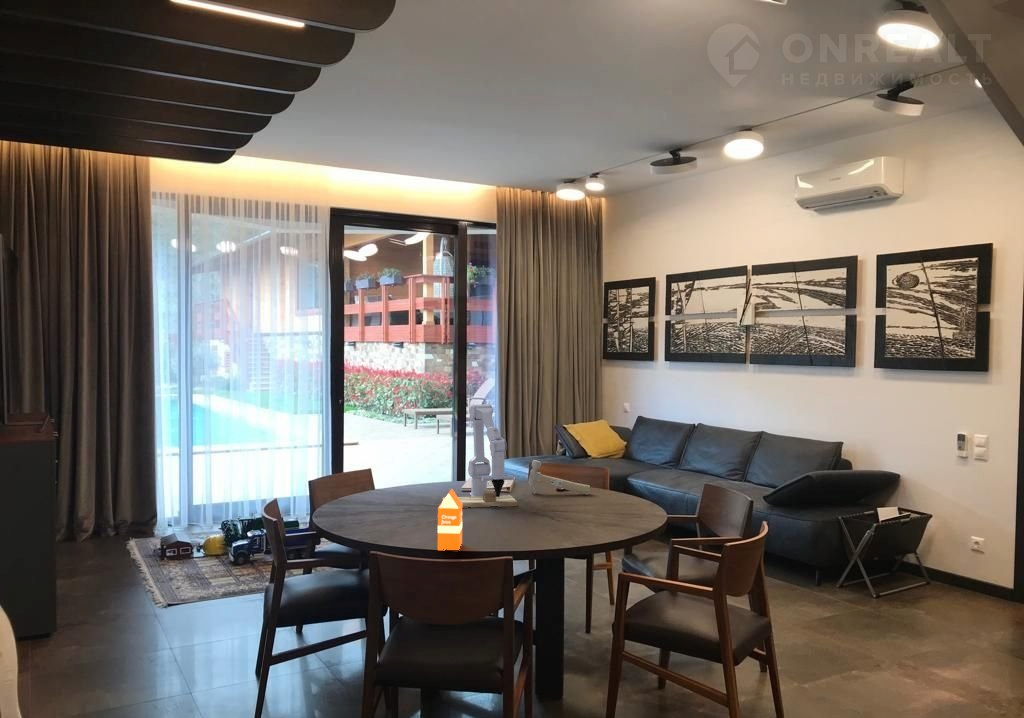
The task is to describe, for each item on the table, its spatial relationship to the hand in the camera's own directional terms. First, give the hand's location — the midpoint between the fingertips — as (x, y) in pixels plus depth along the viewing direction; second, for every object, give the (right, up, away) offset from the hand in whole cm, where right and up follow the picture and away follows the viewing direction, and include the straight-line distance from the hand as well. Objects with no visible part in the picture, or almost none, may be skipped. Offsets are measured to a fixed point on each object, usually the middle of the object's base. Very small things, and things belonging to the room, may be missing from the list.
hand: (497, 496), depth 317 cm
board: (-8, -4, +2) cm, 10 cm away
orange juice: (-15, -4, -70) cm, 72 cm away
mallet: (-4, -2, +2) cm, 5 cm away
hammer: (+29, -4, +26) cm, 40 cm away
